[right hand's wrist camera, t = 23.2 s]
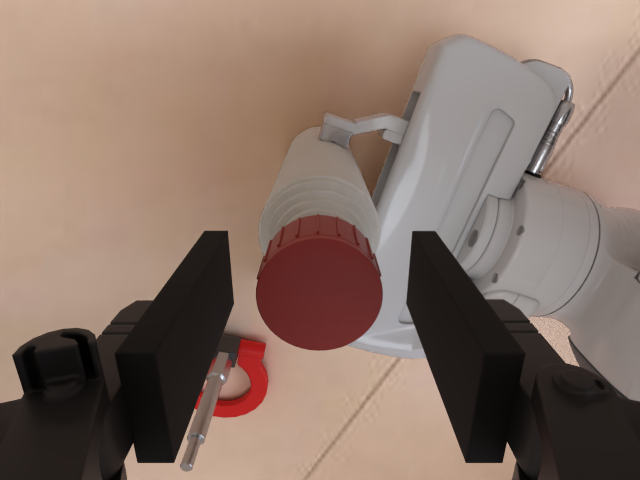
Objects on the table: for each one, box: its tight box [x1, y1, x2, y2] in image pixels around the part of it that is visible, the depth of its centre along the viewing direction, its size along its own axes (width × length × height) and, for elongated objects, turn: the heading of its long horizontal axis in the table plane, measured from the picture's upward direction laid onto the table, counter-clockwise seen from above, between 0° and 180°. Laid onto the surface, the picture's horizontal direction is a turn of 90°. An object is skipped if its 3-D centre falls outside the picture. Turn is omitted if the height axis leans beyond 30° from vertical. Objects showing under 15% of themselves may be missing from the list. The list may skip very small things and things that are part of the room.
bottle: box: [258, 126, 381, 256], centre depth 23 cm, size 5×5×21 cm
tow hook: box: [180, 334, 268, 471], centre depth 34 cm, size 8×13×9 cm
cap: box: [256, 214, 383, 350], centre depth 13 cm, size 4×4×2 cm
